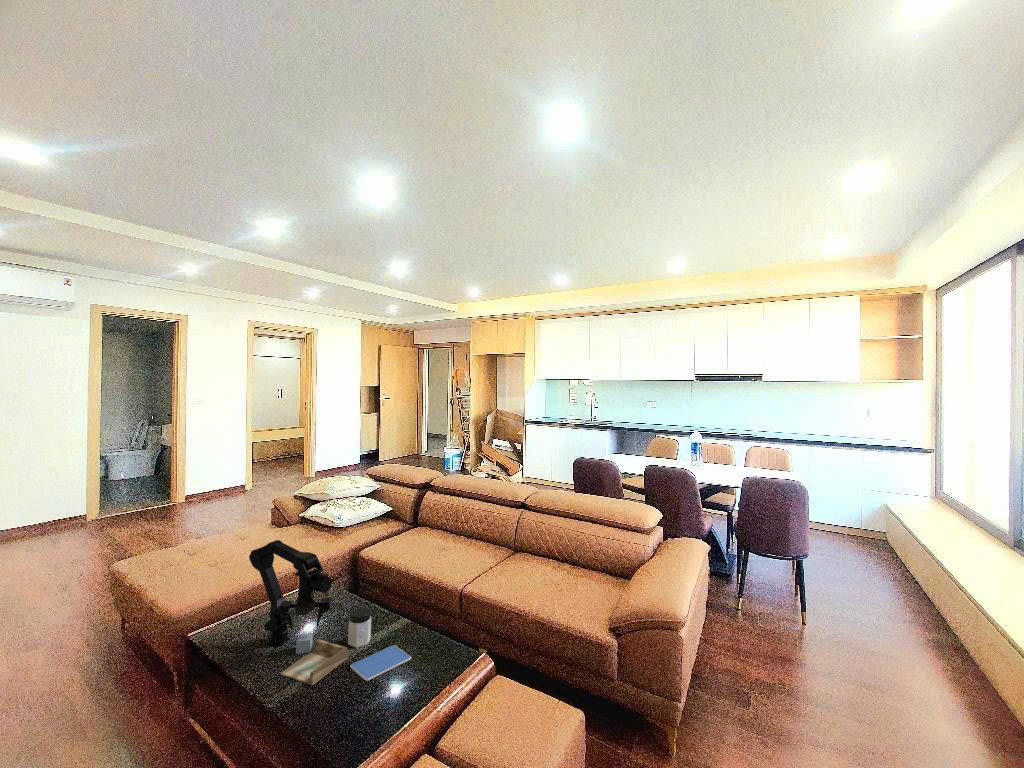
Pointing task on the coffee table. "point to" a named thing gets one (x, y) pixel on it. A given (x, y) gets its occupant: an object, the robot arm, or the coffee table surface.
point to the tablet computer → (380, 662)
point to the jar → (359, 627)
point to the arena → (317, 662)
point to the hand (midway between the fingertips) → (304, 627)
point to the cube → (304, 643)
